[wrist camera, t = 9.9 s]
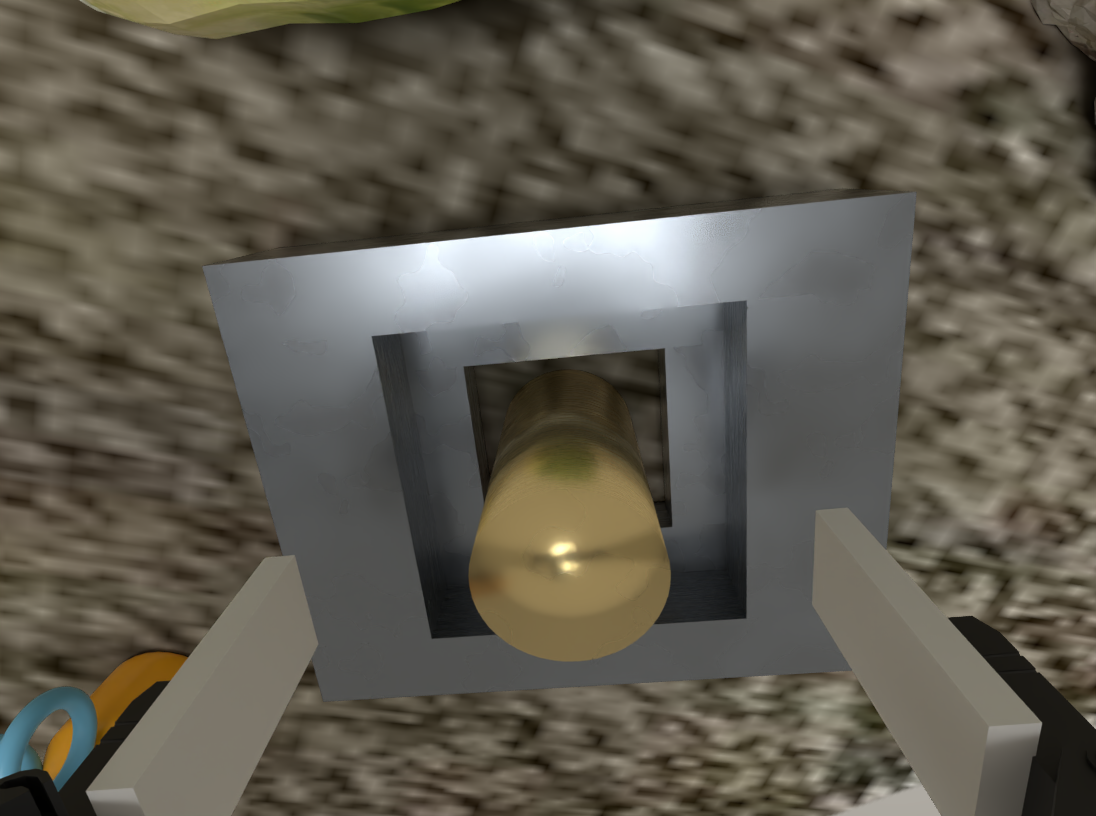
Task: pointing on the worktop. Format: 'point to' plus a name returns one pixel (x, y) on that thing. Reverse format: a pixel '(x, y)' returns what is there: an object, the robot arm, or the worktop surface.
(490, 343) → the jig
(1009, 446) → the worktop surface
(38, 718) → the cylinder
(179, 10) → the lettuce
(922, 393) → the worktop surface
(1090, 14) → the mineral rock
